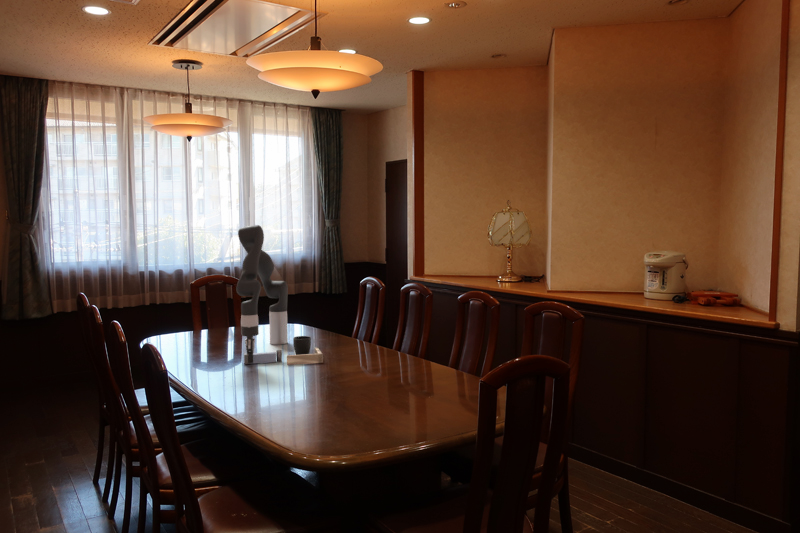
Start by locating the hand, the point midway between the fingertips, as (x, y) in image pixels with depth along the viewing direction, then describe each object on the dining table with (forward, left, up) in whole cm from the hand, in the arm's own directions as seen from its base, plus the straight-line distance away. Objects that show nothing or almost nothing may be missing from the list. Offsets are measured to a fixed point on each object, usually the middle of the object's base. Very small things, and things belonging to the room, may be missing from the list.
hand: (250, 362), depth 267 cm
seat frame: (-4, +24, -1) cm, 24 cm away
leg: (-4, +4, -1) cm, 6 cm away
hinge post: (-4, +13, -1) cm, 14 cm away
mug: (-12, +24, -2) cm, 27 cm away
